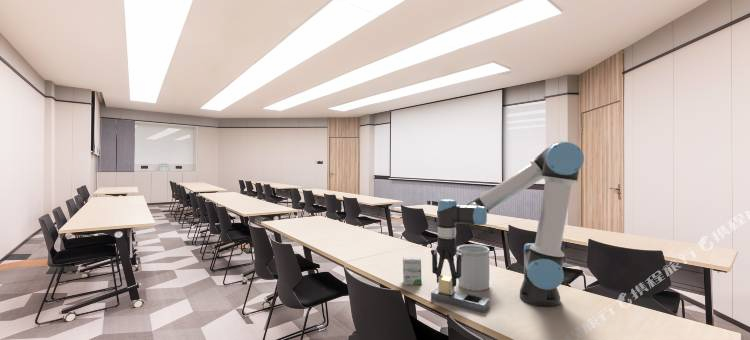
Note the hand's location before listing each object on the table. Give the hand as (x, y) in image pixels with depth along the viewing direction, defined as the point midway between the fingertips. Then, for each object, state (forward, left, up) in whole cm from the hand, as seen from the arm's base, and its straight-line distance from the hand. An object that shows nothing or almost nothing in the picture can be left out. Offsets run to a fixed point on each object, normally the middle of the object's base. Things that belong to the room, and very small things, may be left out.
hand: (446, 292), depth 137 cm
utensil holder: (-4, -22, -3) cm, 23 cm away
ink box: (+21, -9, -3) cm, 23 cm away
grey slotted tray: (-6, 0, -3) cm, 7 cm away
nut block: (0, 0, 0) cm, 0 cm away
